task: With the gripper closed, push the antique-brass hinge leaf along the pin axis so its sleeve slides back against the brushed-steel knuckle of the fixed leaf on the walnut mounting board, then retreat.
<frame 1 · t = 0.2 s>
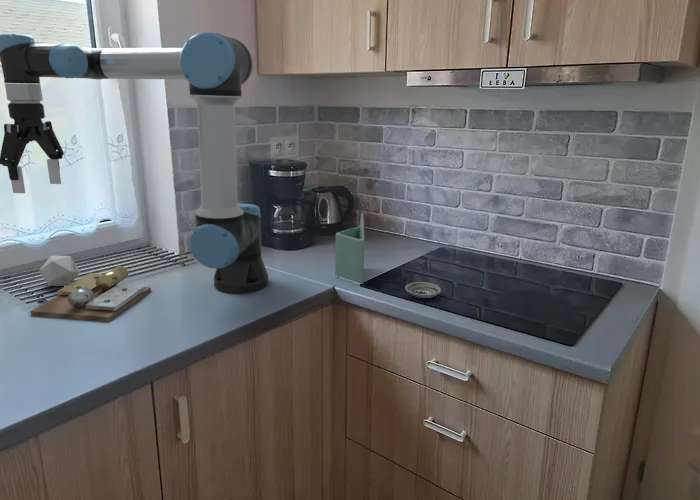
hand: (38, 188, 135), 27 cm above the worktop, fingers open, 13 cm apart
die: (62, 285, 146), on the worktop
fixed leaf: (107, 290, 133), on the mount board, point 4 cm above the worktop
loose leaf: (94, 279, 141), point 3 cm above the worktop, slide at 7.0 cm
mount board: (94, 302, 135), on the worktop
planter: (348, 277, 158), on the worktop
saucer: (422, 296, 145), on the worktop
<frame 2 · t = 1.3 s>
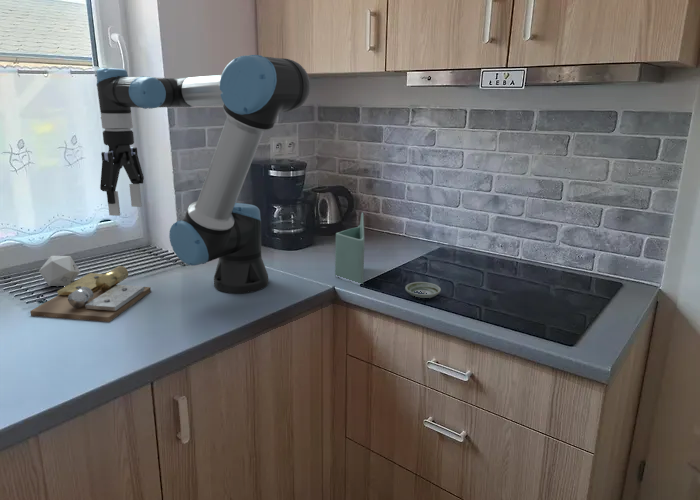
hand: (126, 210, 147), 20 cm above the worktop, fingers open, 11 cm apart
nothing on the worktop moved.
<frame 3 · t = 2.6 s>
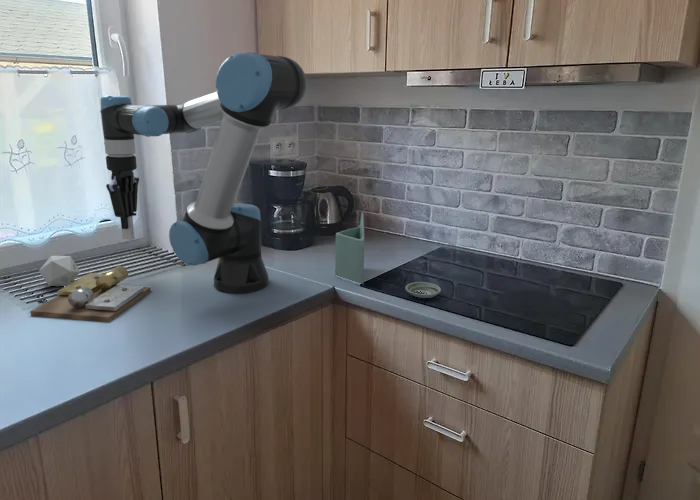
hand: (128, 238, 149), 12 cm above the worktop, fingers closed
nothing on the worktop moved.
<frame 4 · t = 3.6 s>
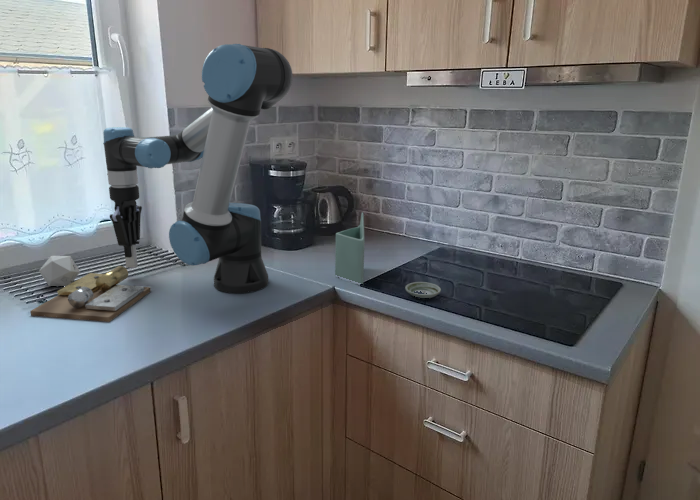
hand: (131, 266, 152), 3 cm above the worktop, fingers closed
nothing on the worktop moved.
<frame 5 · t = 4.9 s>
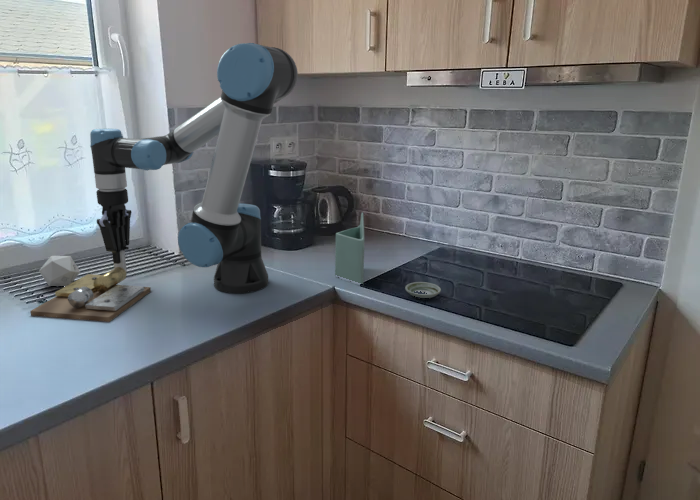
hand: (120, 273, 146), 3 cm above the worktop, fingers closed
loose leaf: (92, 280, 140), point 3 cm above the worktop, slide at 6.1 cm, touching gripper
everything else where it was.
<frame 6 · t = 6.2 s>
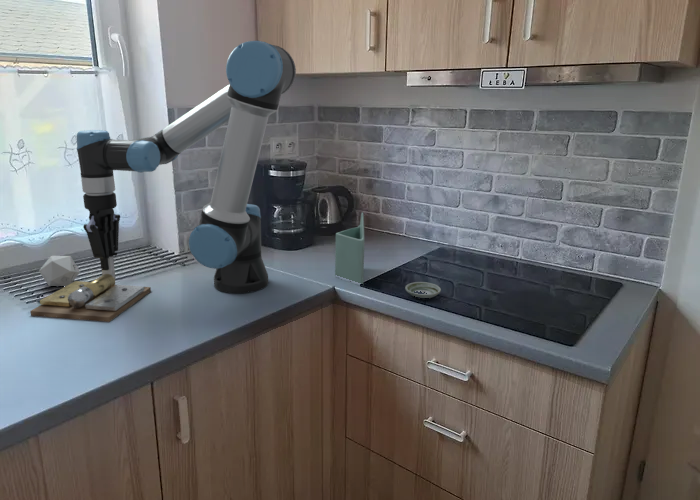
hand: (109, 280, 141), 3 cm above the worktop, fingers closed
loose leaf: (79, 288, 134), point 3 cm above the worktop, slide at 0.4 cm, touching gripper
everything else where it was.
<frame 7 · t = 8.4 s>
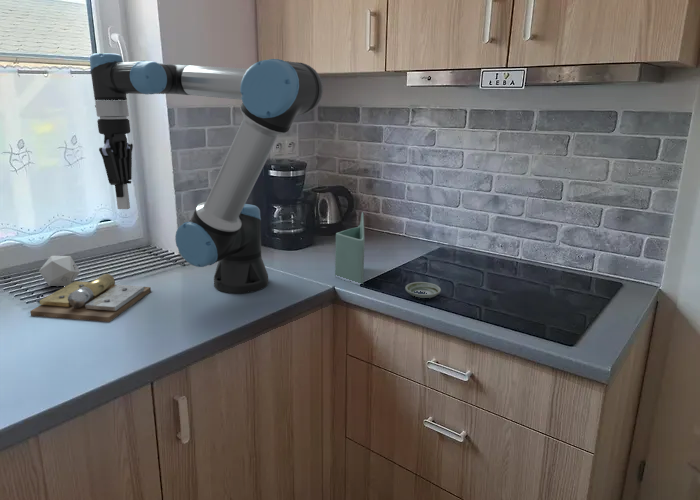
hand: (123, 208, 142), 22 cm above the worktop, fingers closed
loose leaf: (79, 288, 134), point 3 cm above the worktop, slide at 0.3 cm
everything else where it was.
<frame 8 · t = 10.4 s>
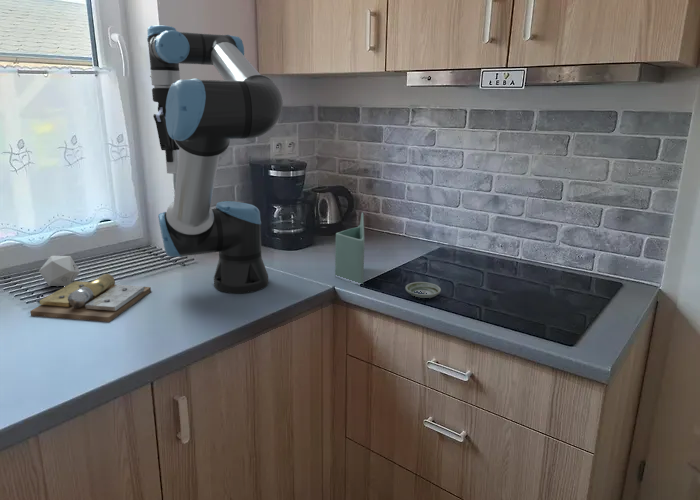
hand: (172, 173, 152), 29 cm above the worktop, fingers closed
nothing on the worktop moved.
at the end: loose leaf slide at 0.3 cm; the gripper is holding nothing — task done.
